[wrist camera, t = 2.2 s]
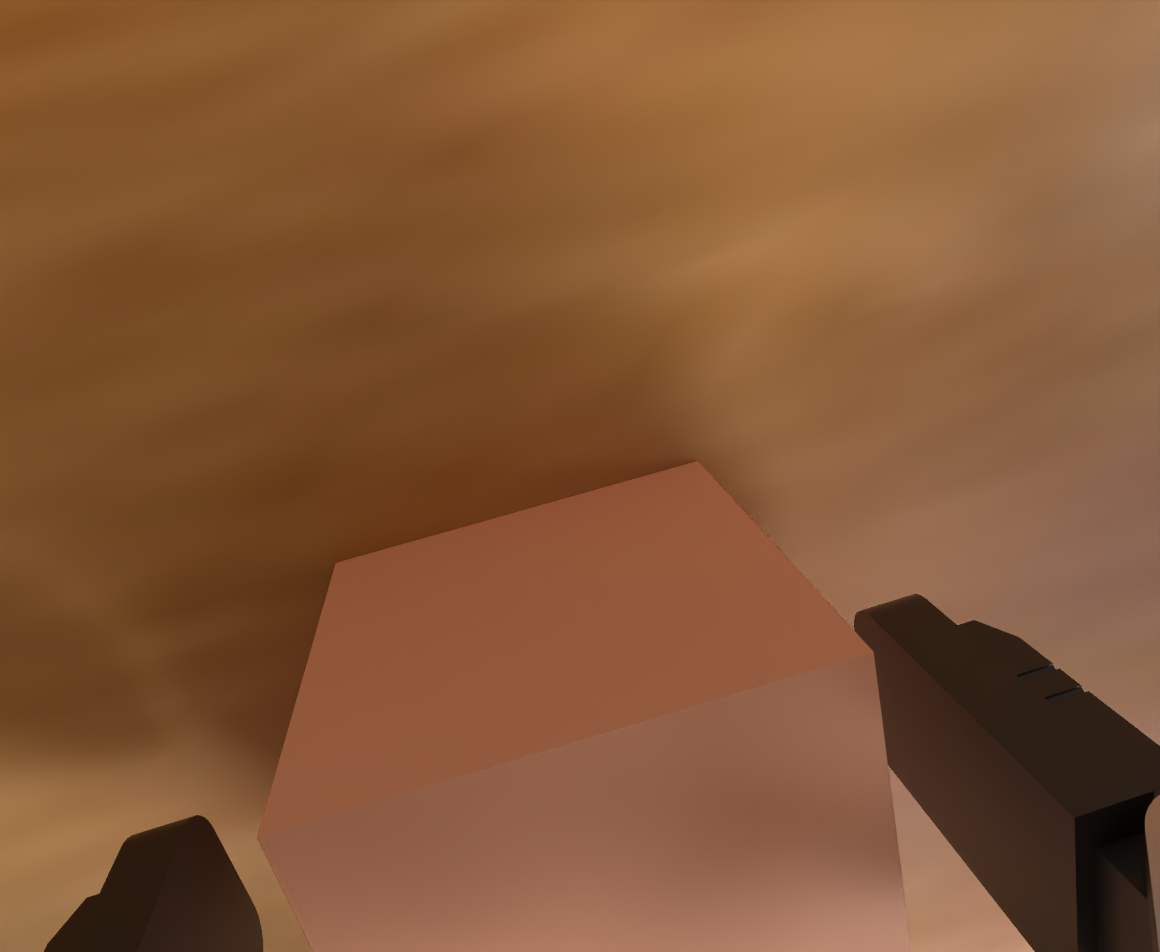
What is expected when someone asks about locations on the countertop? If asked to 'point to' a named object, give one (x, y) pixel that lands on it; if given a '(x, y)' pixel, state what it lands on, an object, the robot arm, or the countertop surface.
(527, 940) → the terracotta cube
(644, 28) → the countertop surface
